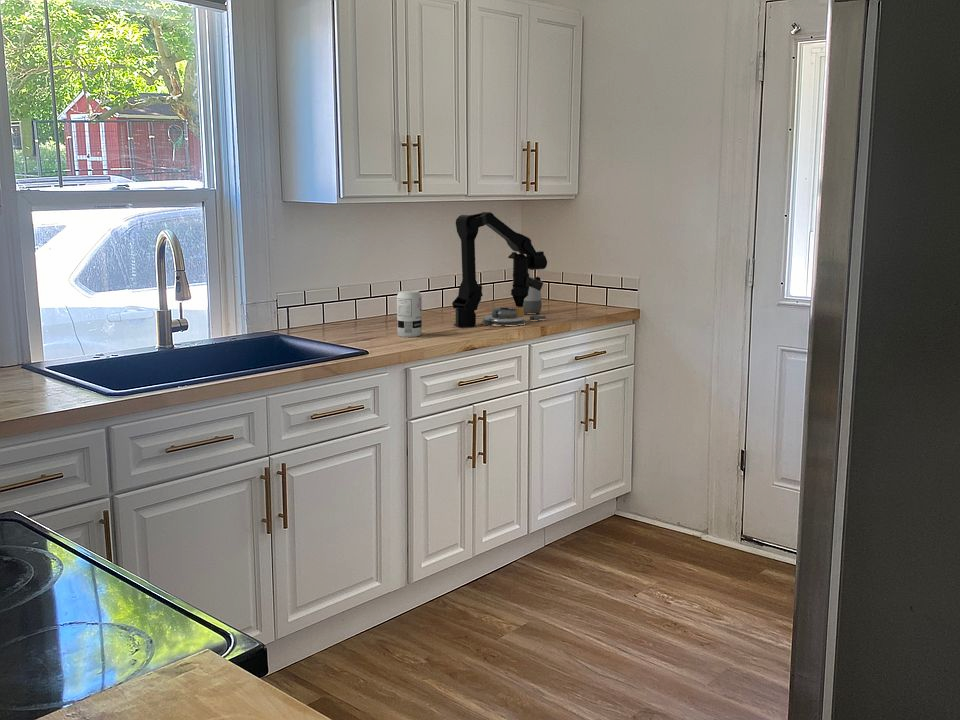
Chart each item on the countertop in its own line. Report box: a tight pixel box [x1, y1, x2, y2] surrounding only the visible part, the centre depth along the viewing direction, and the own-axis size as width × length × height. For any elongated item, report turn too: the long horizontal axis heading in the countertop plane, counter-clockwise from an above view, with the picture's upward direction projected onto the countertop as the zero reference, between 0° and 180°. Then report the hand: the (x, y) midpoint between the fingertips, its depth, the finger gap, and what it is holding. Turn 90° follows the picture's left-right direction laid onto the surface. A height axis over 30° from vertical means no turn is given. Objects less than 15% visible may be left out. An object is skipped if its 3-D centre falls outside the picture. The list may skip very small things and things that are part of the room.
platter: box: [483, 306, 525, 323], centre depth 351 cm, size 15×15×5 cm
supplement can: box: [396, 289, 423, 338], centre depth 322 cm, size 8×8×15 cm
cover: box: [491, 306, 517, 319], centre depth 351 cm, size 9×9×3 cm
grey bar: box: [529, 314, 547, 321], centre depth 360 cm, size 6×2×2 cm, turn 131°
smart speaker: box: [523, 286, 543, 314], centre depth 378 cm, size 10×9×14 cm
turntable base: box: [481, 319, 527, 326], centre depth 352 cm, size 16×16×1 cm
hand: (520, 312), depth 357 cm, fingers closed
